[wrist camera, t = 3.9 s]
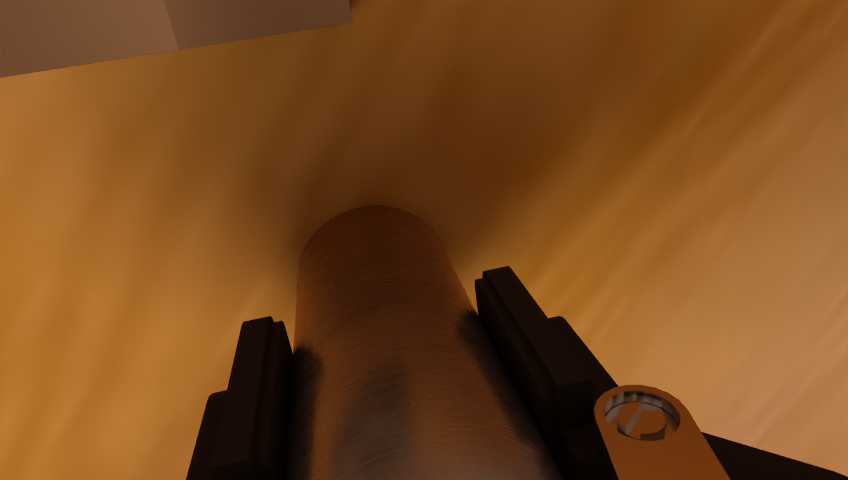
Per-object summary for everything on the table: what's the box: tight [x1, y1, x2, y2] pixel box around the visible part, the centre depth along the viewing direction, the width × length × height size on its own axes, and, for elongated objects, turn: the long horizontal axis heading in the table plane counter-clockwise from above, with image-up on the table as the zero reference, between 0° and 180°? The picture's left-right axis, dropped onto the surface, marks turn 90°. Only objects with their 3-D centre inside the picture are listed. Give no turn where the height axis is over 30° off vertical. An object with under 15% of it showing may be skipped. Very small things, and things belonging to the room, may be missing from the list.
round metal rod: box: [285, 206, 564, 480], centre depth 9 cm, size 4×4×14 cm
